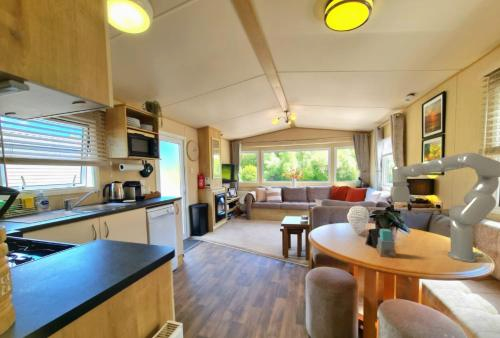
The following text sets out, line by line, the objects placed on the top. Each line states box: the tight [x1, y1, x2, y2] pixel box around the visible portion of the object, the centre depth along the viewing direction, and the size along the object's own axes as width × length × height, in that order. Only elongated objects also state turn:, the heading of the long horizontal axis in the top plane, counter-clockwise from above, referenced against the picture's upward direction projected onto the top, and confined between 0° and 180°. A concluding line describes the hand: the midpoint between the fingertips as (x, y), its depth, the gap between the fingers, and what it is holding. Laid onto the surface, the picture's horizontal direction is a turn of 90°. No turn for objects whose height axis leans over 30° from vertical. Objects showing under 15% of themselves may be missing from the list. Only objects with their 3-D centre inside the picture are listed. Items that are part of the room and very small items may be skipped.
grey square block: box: [376, 245, 397, 259], centre depth 134 cm, size 8×8×5 cm
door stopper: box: [365, 227, 380, 250], centre depth 149 cm, size 9×6×12 cm, turn 14°
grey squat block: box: [378, 237, 395, 250], centre depth 134 cm, size 7×7×5 cm
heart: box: [346, 205, 370, 235], centre depth 174 cm, size 28×16×22 cm, turn 150°
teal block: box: [379, 228, 393, 241], centre depth 134 cm, size 5×5×6 cm
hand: (400, 210), depth 139 cm, fingers open, 9 cm apart
